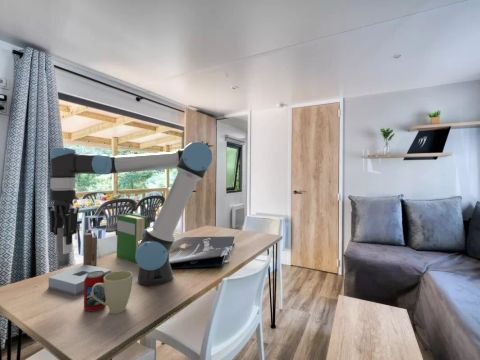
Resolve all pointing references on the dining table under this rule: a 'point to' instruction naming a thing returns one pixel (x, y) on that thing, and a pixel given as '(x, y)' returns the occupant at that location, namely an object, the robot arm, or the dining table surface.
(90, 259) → the wooden block
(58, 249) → the pin
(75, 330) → the dining table surface
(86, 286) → the beverage can
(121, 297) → the mug
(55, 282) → the bore block
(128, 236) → the hardback book
